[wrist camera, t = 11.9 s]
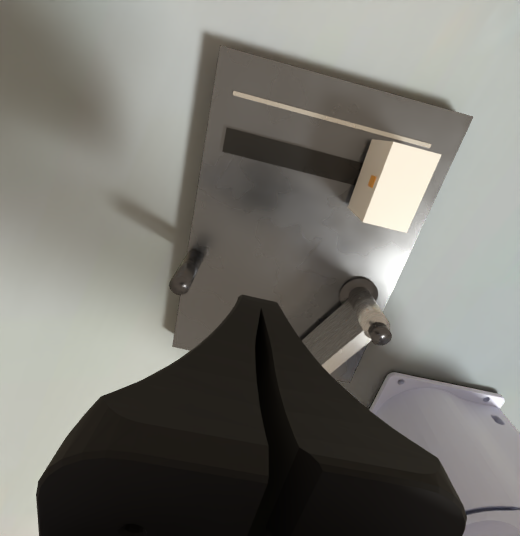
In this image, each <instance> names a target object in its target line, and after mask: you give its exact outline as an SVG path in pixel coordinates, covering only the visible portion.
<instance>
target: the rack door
mask: <svg viewBox="0 0 520 536" xmlns="http://www.w3.org/2000/svg"><path fill="white" fill-rule="evenodd" d="M377 322H381V323H384V324H385V325H386V326H387V328H388V329H390V324H389V322H388V320H387V318H386V317H385V315H384V314H383V312H382V311H381V309H380V307H379V306H378V304H377V303H376V301H375V299H374V298H373V296H372V295H371V293H370V291H369V290H368V289H366V288H364V287H357V288H354V289H353V290H352V291H351V292H350V293H349V295H348V300H347V301H346V302H344V303H343V304H342V305H341V306H340V307H339V308H338V309H337V310H335V311H334V312H333V313H332V314H331V315H330V316H329V317H328V318H326V319H325V320H324V321H323V322H322V323H321V324H320V325H319V326H317V327H316V328H315V329H314V330H313V331H312V332H311V333H310V334H308V335H307V336H306V337H305V338H304V339H303V340H302V342H303V343H304V345H305V346H306V347H307V349H308V350H309V351H310V352H311V354H312V355H313V356H314V357H315V359H316V360H317V361H318V362H319V363H320V364H321V365H322V367H323V368H324V369H325V370H326V371H327V372H328V373H329V374H331V373H332V372H333V371H334V370H335V369H337V368H338V367H339V366H340V365H342V364H343V363H344V362H345V361H347V360H348V359H349V358H350V357H352V356H353V355H354V354H355V353H356V352H358V351H359V350H360V349H361V348H363V347H364V346H365V345H366V344H368V343H369V342H370V341H371V338H370V336H369V334H368V329H369V327H370V326H371V325H372V324H374V323H377Z"/></svg>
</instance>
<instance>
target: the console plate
mask: <svg viewBox="0 0 520 536" xmlns="http://www.w3.org/2000/svg"><path fill="white" fill-rule="evenodd" d="M472 119H473V116H469V115H466V114H462V113H459V112H455V111H451V110H448V109H444V108H441V107H437V106H434V105H430V104H427V103H423V102H420V101H416V100H412V99H409V98H405V97H402V96H398V95H395V94H391V93H388V92H384V91H380V90H377V89H373V88H370V87H366V86H363V85H359V84H356V83H352V82H349V81H345V80H341V79H338V78H334V77H331V76H327V75H324V74H320V73H317V72H313V71H309V70H306V69H302V68H299V67H295V66H292V65H288V64H285V63H281V62H278V61H274V60H270V59H267V58H263V57H260V56H256V55H253V54H249V53H246V52H242V51H238V50H235V49H231V48H228V47H224V46H221V45H220V50H219V56H218V62H217V69H216V75H215V81H214V88H213V94H212V100H211V106H210V113H209V119H208V125H207V132H206V138H205V144H204V151H203V157H202V163H201V169H200V176H199V182H198V188H197V195H196V201H195V207H194V214H193V220H192V226H191V232H190V239H189V245H188V251H187V255H186V257H185V259H184V260H183V262H182V263H181V265H180V267H179V268H178V270H177V271H176V273H175V275H174V276H173V278H172V280H171V281H170V284H169V286H170V289H171V291H172V292H174V293H175V294H178V295H180V302H179V308H178V314H177V321H176V327H175V333H174V340H173V346H172V347H177V348H182V349H187V350H192V349H194V348H195V347H196V346H197V345H199V344H200V343H201V342H202V341H203V340H205V339H206V338H207V337H208V336H209V335H210V334H211V333H212V332H213V331H214V330H215V329H216V328H217V327H218V326H219V325H220V324H221V323H222V321H223V320H224V319H225V318H226V317H227V315H228V314H229V313H230V311H231V310H232V309H233V307H234V306H235V304H236V302H237V300H238V297H239V296H240V295H247V296H251V297H256V298H261V299H265V300H270V301H274V302H277V303H278V305H279V306H280V308H281V310H282V311H283V313H284V315H285V316H286V318H287V319H288V321H289V323H290V324H291V326H292V327H293V329H294V330H295V332H296V333H297V335H298V336H299V338H300V339H301V341H302V340H303V339H304V338H305V337H306V336H307V335H308V334H310V333H311V332H312V331H313V330H314V329H315V328H316V327H317V326H319V325H320V324H321V323H322V322H323V321H324V320H325V319H326V318H328V317H329V316H330V315H331V314H332V313H333V312H334V311H335V310H337V309H338V308H339V307H340V306H341V305H342V304H343V303H344V302H346V301H347V300H348V295H349V293H350V292H351V291H352V290H353V289H354V288H357V287H364V288H366V289H368V290H369V291H370V293H371V295H372V296H373V298H374V299H375V301H376V303H377V304H378V306H379V307H380V309H381V311H382V312H383V310H384V308H385V306H386V304H387V302H388V299H389V297H390V295H391V293H392V291H393V289H394V286H395V284H396V282H397V280H398V278H399V276H400V274H401V271H402V269H403V267H404V265H405V263H406V261H407V258H408V256H409V254H410V252H411V250H412V248H413V246H414V243H415V241H416V239H417V237H418V235H419V233H420V231H421V228H422V226H423V224H424V222H425V220H426V218H427V215H428V213H429V211H430V209H431V207H432V205H433V203H434V200H435V198H436V196H437V194H438V192H439V190H440V187H441V185H442V183H443V181H444V179H445V177H446V175H447V172H448V170H449V168H450V166H451V164H452V162H453V159H454V157H455V155H456V153H457V151H458V149H459V147H460V144H461V142H462V140H463V138H464V136H465V134H466V132H467V129H468V127H469V125H470V123H471V121H472ZM372 139H375V140H383V141H392V142H397V143H400V144H404V145H408V146H411V147H415V148H419V149H423V150H426V151H430V152H434V153H437V154H441V157H440V160H439V162H438V164H437V166H436V169H435V171H434V173H433V175H432V178H431V180H430V182H429V184H428V186H427V189H426V191H425V193H424V195H423V198H422V200H421V202H420V204H419V207H418V209H417V211H416V213H415V216H414V218H413V220H412V222H411V224H410V227H409V229H408V231H407V233H405V232H401V231H397V230H392V229H388V228H384V227H380V226H376V225H372V224H368V223H364V222H362V221H361V220H360V219H359V218H358V217H357V216H356V215H355V214H354V213H353V212H352V211H351V210H350V209H349V208H348V205H349V202H350V199H351V196H352V194H353V191H354V188H355V185H356V182H357V180H358V177H359V174H360V171H361V168H362V166H363V163H364V160H365V157H366V154H367V152H368V149H369V146H370V143H371V140H372ZM368 334H369V336H370V338H371V340H372V342H373V343H374V344H376V345H384V344H387V343H388V342H389V341H390V340H391V333H390V331H389V329H388V328H387V326H386V325H385V324H384V323H381V322H377V323H374V324H372V325H371V326H370V327H369V329H368ZM367 345H368V344H366V345H365V346H364V347H363V348H361V349H360V350H359V351H358V352H356V353H355V354H354V355H353V356H352V357H350V358H349V359H348V360H347V361H345V362H344V363H343V364H342V365H340V366H339V367H338V368H337V369H335V370H334V371H333V372H332V373H331V374H330V375H331V376H332V377H333V378H334V379H335V380H339V381H344V382H349V383H350V381H351V379H352V377H353V375H354V373H355V370H356V368H357V366H358V364H359V362H360V360H361V357H362V355H363V353H364V351H365V349H366V347H367Z"/></svg>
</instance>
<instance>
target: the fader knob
mask: <svg viewBox="0 0 520 536" xmlns="http://www.w3.org/2000/svg"><path fill="white" fill-rule="evenodd" d="M440 157H441V154H437V153H434V152H430V151H426V150H423V149H419V148H415V147H411V146H408V145H404V144H400V143H397V142H392V141H383V140H375V139H372V140H371V143H370V146H369V149H368V152H367V154H366V157H365V160H364V163H363V166H362V168H361V171H360V174H359V177H358V180H357V182H356V185H355V188H354V191H353V194H352V196H351V199H350V202H349V205H348V208H349V209H350V210H351V211H352V212H353V213H354V214H355V215H356V216H357V217H358V218H359V219H360V220H361V221H362V222H364V223H368V224H372V225H376V226H380V227H384V228H388V229H392V230H397V231H401V232H405V233H407V231H408V229H409V227H410V224H411V222H412V220H413V218H414V216H415V213H416V211H417V209H418V207H419V204H420V202H421V200H422V198H423V195H424V193H425V191H426V189H427V186H428V184H429V182H430V180H431V178H432V175H433V173H434V171H435V169H436V166H437V164H438V162H439V160H440Z"/></svg>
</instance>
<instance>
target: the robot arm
mask: <svg viewBox="0 0 520 536" xmlns="http://www.w3.org/2000/svg"><path fill="white" fill-rule="evenodd" d="M400 379H402V380H400ZM398 380H400V381H398ZM504 402H505V399H504V398H503V397H502V395H500V394H497V393H492V392H487V391H483V390H478V389H473V388H468V387H463V386H459V385H454V384H449V383H444V382H439V381H435V380H430V379H425V378H420V377H415V376H411V375H406V374H401V373H396V372H392V373H390V374H388V375H387V377H386V379H385V380H384V382H383V384H382V386H381V388H380V390H379V392H378V394H377V396H376V398H375V400H374V402H373V403H372V405H371V407H370V409H367V408H366V407H365V406H364V405H362V404H361V403H360V402H359V401H358V400H357V399H355V398H354V397H353V396H352V395H351V394H350V393H349V392H348V391H346V390H345V389H344V388H343V387H342V386H341V385H340V384H339V383H338V382H337V381H336V380H335V379H334V378H333V377H332V376H331V375H330V374H329V373H328V372H327V371H326V370H325V369H324V368H323V367H322V365H321V364H320V363H319V362H318V361H317V360H316V359H315V357H314V356H313V355H312V354H311V352H310V351H309V350H308V349H307V347H306V346H305V345H304V343H303V342H302V341H301V339H300V338H299V336H298V335H297V333H296V332H295V330H294V329H293V327H292V326H291V324H290V323H289V321H288V319H287V318H286V316H285V315H284V313H283V311H282V310H281V308H280V306H279V305H278V303H277V302H274V301H270V300H265V299H261V298H256V297H251V296H247V295H240V296H239V297H238V300H237V302H236V304H235V306H234V307H233V309H232V310H231V311H230V313H229V314H228V315H227V317H226V318H225V319H224V320H223V321H222V323H221V324H220V325H219V326H218V327H217V328H216V329H215V330H214V331H213V332H212V333H211V334H210V335H209V336H208V337H207V338H206V339H205V340H203V341H202V342H201V343H200V344H199V345H197V346H196V347H195V348H194V349H192V350H191V351H190V352H188V353H187V354H185V355H184V356H183V357H181V358H180V359H178V360H177V361H175V362H174V363H172V364H170V365H169V366H167V367H165V368H163V369H162V370H160V371H158V372H156V373H154V374H152V375H151V376H149V377H147V378H145V379H143V380H141V381H139V382H137V383H134V384H132V385H129V386H127V387H124V388H122V389H119V390H117V391H114V392H112V393H109V394H106V395H104V396H101V397H100V398H99V399H98V400H97V401H96V402H95V404H94V405H93V406H92V407H91V408H90V409H89V410H88V411H87V412H86V414H85V415H84V416H83V417H82V418H81V420H80V421H79V422H78V423H77V425H76V426H75V427H74V428H73V429H72V431H71V432H70V433H69V435H68V436H67V437H66V438H65V440H64V441H63V443H62V445H61V446H60V448H59V449H58V451H57V452H56V454H55V456H54V457H53V459H52V460H51V462H50V464H49V465H48V467H47V468H46V470H45V472H44V473H43V475H42V476H41V478H40V480H39V481H38V487H37V493H36V499H37V512H38V526H39V536H520V432H519V431H518V430H517V429H516V428H515V426H514V425H513V424H512V423H511V422H510V420H509V419H508V418H507V417H506V416H505V414H504V413H503V412H502V411H501V409H500V408H501V406H502V405H503V403H504Z"/></svg>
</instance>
